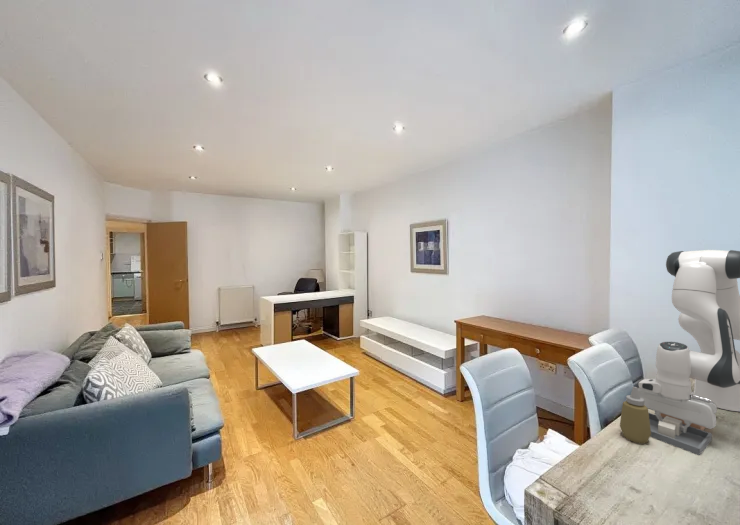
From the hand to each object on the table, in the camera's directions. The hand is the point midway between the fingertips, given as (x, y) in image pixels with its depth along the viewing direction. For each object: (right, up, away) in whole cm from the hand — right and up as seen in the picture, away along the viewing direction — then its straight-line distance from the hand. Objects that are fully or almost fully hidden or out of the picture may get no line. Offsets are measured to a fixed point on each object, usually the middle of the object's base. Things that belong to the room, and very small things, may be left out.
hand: (672, 428), depth 106 cm
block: (-5, -1, -3) cm, 6 cm away
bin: (+10, -2, +6) cm, 12 cm away
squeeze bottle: (-17, -2, -4) cm, 17 cm away
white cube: (0, -1, 0) cm, 1 cm away
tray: (-3, -2, -2) cm, 3 cm away
